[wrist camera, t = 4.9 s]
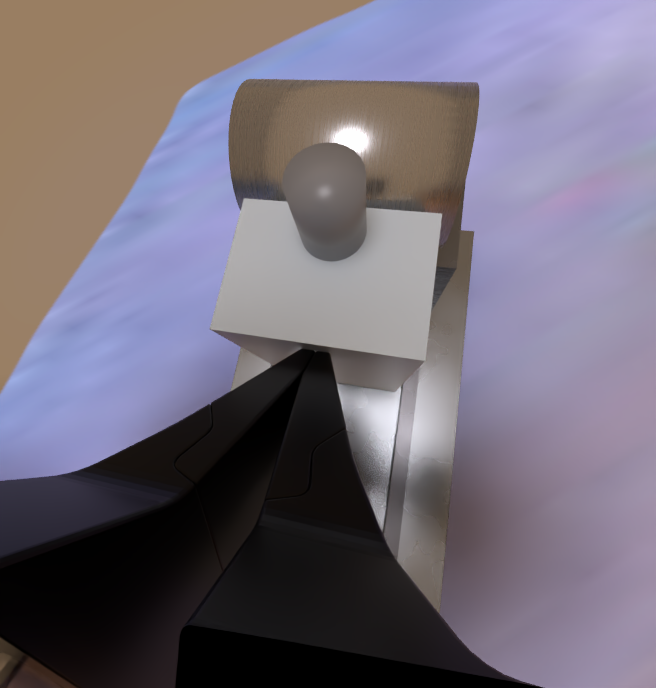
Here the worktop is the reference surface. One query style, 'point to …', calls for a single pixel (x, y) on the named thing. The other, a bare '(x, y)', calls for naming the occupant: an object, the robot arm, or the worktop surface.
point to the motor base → (427, 431)
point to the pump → (331, 274)
